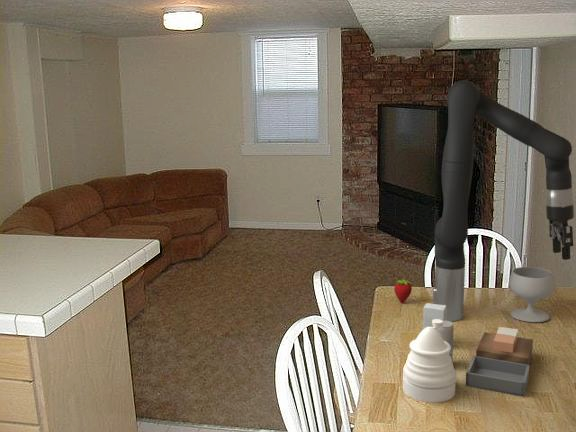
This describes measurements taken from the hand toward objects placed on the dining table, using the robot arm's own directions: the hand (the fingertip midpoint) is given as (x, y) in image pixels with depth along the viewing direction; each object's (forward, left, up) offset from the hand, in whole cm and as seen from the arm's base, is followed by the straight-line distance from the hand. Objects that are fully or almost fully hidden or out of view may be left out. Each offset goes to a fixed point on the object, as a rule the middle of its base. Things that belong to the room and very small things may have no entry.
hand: (561, 255), depth 189 cm
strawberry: (-49, +1, -23) cm, 54 cm away
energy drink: (-26, -41, -23) cm, 54 cm away
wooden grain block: (-11, -32, -23) cm, 41 cm away
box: (-11, -45, -23) cm, 52 cm away
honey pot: (-26, -56, -23) cm, 66 cm away
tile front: (-11, -34, -18) cm, 40 cm away
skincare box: (-31, -29, -23) cm, 48 cm away
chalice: (-8, +5, -23) cm, 25 cm away
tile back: (-11, -29, -18) cm, 36 cm away
